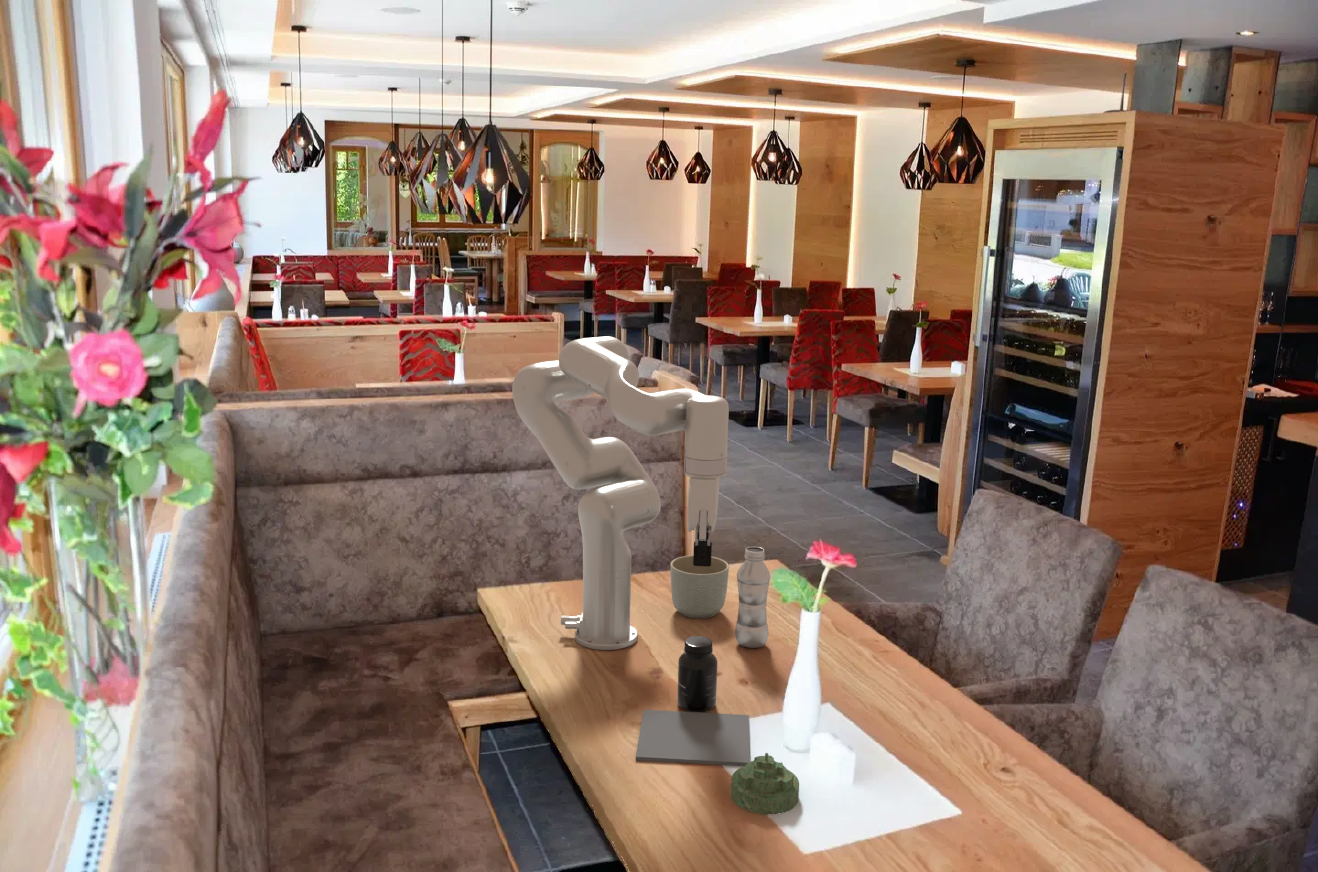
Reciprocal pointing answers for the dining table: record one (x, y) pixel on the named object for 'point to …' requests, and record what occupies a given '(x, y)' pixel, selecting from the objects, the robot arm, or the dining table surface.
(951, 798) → the dining table surface
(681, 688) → the supplement bottle
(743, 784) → the decorative artifact
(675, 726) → the mat
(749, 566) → the plastic bottle
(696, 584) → the planter
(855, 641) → the dining table surface
